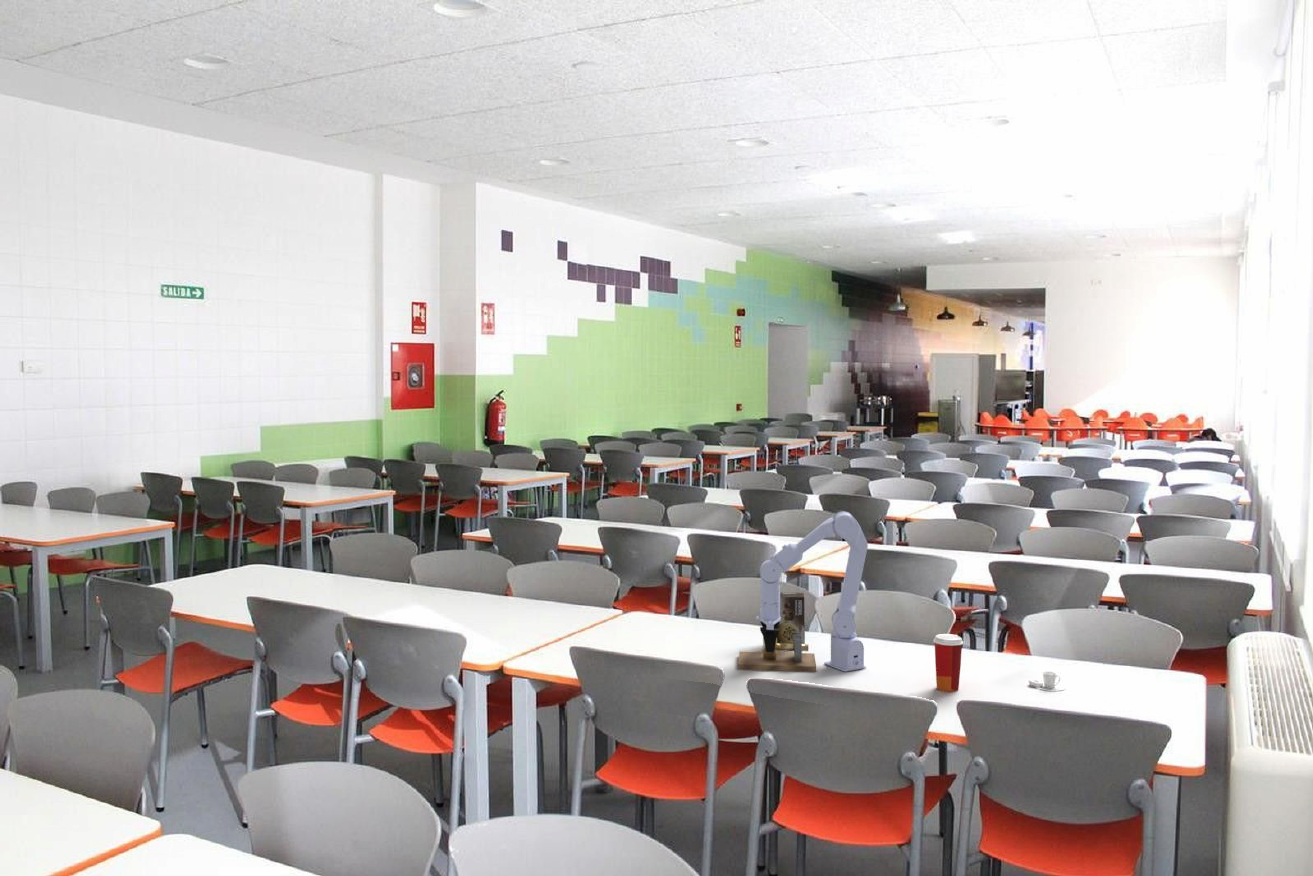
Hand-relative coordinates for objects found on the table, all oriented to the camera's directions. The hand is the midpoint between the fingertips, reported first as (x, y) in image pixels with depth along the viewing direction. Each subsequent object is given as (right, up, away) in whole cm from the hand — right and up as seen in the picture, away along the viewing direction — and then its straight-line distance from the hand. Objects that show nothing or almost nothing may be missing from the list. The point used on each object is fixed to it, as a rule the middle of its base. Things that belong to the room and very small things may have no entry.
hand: (769, 648), depth 300 cm
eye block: (+2, -4, 0) cm, 5 cm away
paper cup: (+45, -6, -24) cm, 51 cm away
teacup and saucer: (+72, -6, -20) cm, 75 cm away
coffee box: (+8, -4, +21) cm, 23 cm away
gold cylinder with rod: (+5, -3, 0) cm, 5 cm away
